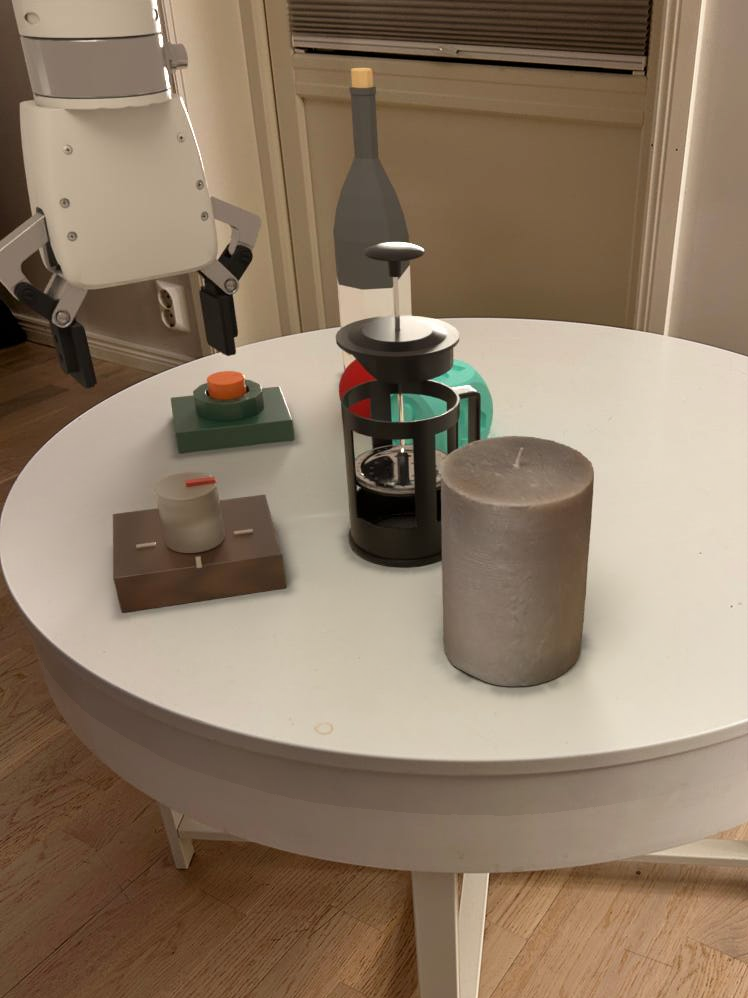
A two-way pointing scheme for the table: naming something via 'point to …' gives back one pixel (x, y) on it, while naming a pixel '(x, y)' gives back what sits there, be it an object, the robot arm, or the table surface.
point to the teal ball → (431, 407)
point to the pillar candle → (515, 557)
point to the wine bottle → (367, 221)
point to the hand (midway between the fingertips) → (155, 365)
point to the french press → (400, 426)
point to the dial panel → (196, 558)
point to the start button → (226, 385)
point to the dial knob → (190, 512)
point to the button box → (231, 419)
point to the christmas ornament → (352, 378)
